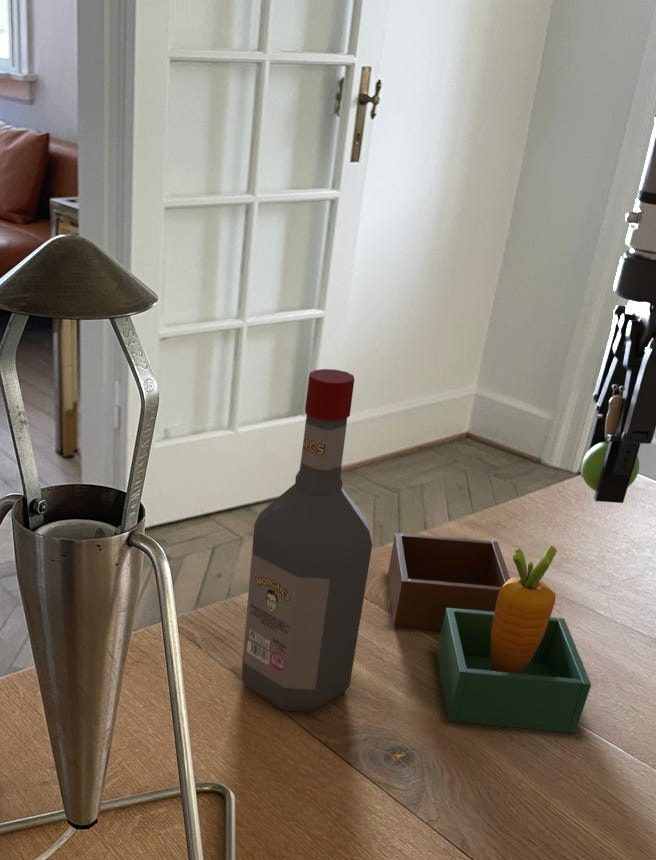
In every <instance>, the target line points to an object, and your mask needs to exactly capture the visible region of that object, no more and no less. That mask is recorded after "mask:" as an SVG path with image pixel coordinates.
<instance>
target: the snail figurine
mask: <svg viewBox="0 0 656 860" xmlns="http://www.w3.org/2000/svg"><path fill="white" fill-rule="evenodd" d="M612 389H613V390H614V391H615V390H617V389H618V385H617V384H614V385H613V386H612ZM624 390H625V387H624V386H620V387H619V391H620V395H621V392H622V391H624ZM614 391H613V395H614ZM613 395H612V398H611V399H610V401H609V411H608V414H607V418H606V425H605V438H606V440H607V435H615V434H616V429H617V424H618V419H619V413H620V408H621V405H622V397H621V396H620V395H616V396H613ZM608 445H609V441H608V440H607V441H604V442H601V443H599V444H597V445H595V446H594V447H592V448H591V449H590V450H589V451H588V452H587V454H586V453H585V455H584V457H583V459H582V463H581V470H582V476H583V477H582V479H583V480H584V481H583V482H584V483H585V484H586V485H587V486H588V487H589V488H590V489H591V490H593V491H595V492H596V488H597V485H598V481H599V478H600V474H601V470H602V467H603V463H604V459H605V456H606V452H607V449H608ZM639 471H640V460H639V456H638V455H637V458H636V461H635V464H634V468H633V471H632V475H631V478H630V481H629V485H628V488H629V487H630V486H631V485H633V483H634V482H635V481H636V479H637V477H638V475H639Z"/></svg>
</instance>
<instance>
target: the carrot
mask: <svg viewBox="0 0 656 860" xmlns="http://www.w3.org/2000/svg"><path fill="white" fill-rule="evenodd" d="M557 552H558V550H557V549H556V547H555V546H554V545H548V546H547V549H546V551H545V553H544V554H543V556H542V559H540V560H539V561H538V562H537V564H536V565H535V566H534V563H533V562H532V561H530V562H528V563H527V561H526V558H525V554H524V552H523V550H522V548H520V547H518V548H516V549H515V550H514V554H513V555H512V560H513V562H514V564H515V567H516V570H517V572H518V576H519V577H510V579H509V580H508V581H507V582H506V583H505V584H504V585H503V586H502V587H501V589H500V591H499V593H498V597H497V602H496V607H495V612H494V617H493V623H492V629H491V660H492V665H493V670H494V671H496V672H507V673H517V674H521V673H522V672H523V671H524V669H525V668H526V667H527V665H528V664H529V663H530V661H531V659H532V658H533V656H534V654H535V652H536V650H537V648H538V646H539V644H540V642H541V640H542V638H543V636H544V633H545V631H546V628H547V625H548V622H549V619H550V617H552V613H553V609H554V606H555V604H556V594H555V592H554V591H553V590H552V589H551V588H550V587H549V586H548V584H547V583H546V582H545V581H543V580H542V578H543V577H544V576H545V573H546V572H547V571H548V569H549V568H550V565H551V564H552V562H553V560H554V558H555V556H556V554H557Z"/></svg>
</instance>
